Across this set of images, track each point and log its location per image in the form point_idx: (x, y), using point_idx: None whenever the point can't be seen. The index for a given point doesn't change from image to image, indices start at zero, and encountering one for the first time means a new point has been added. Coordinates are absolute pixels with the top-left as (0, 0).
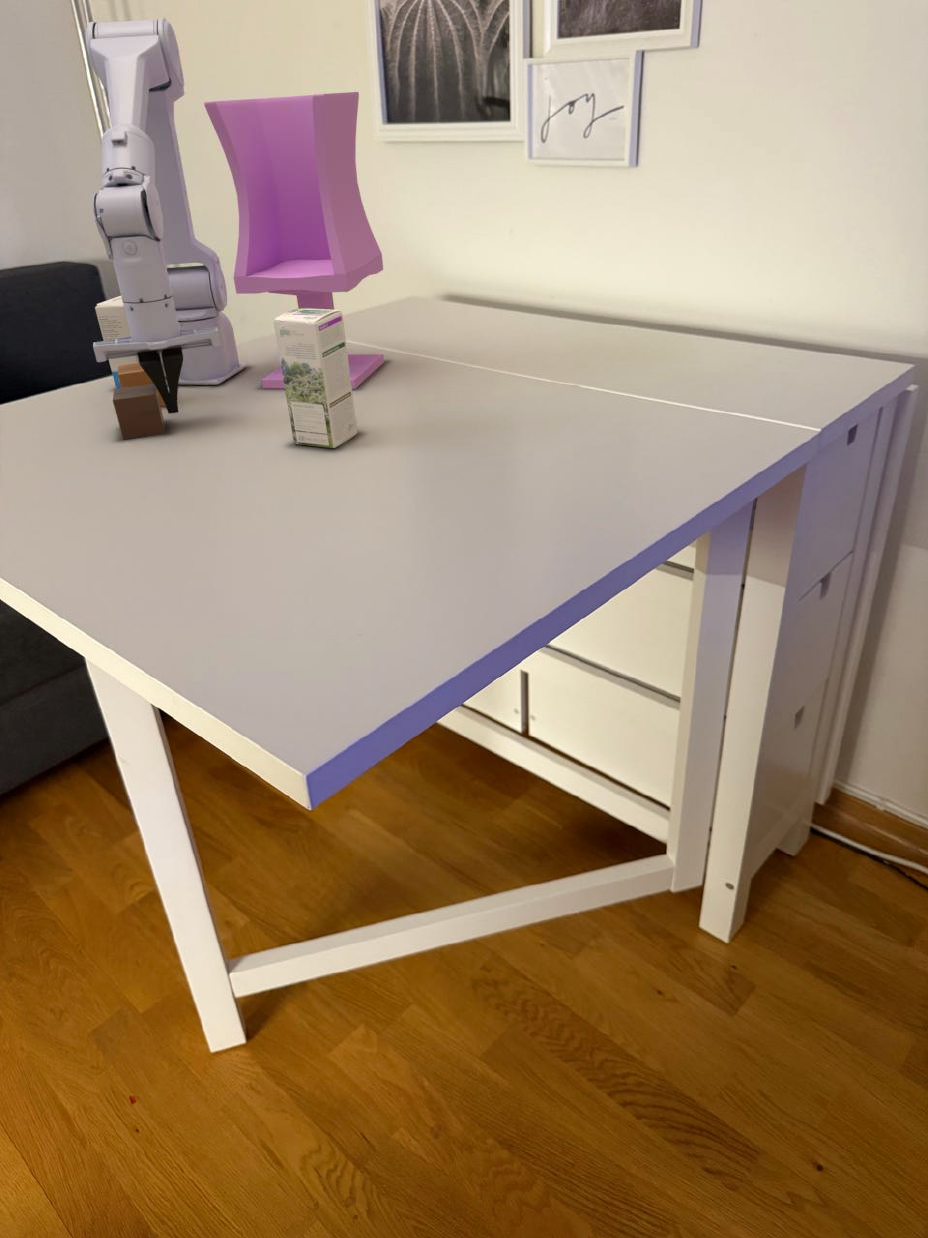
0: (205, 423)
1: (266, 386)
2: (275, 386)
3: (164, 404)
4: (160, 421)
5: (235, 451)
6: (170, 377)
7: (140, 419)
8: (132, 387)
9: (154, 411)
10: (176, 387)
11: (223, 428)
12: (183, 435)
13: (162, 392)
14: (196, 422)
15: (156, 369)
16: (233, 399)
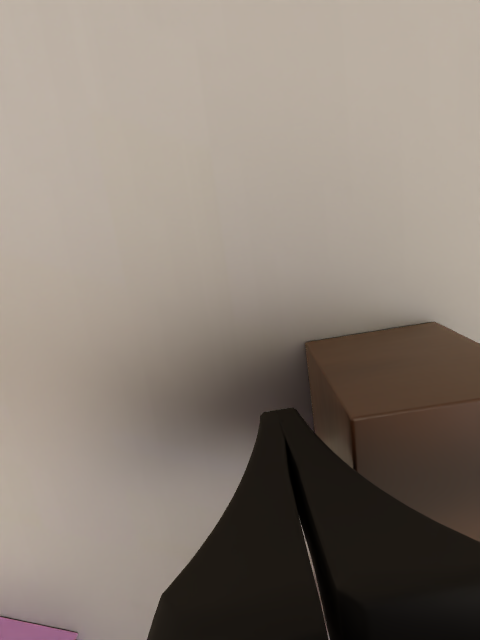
0: (187, 404)
1: (64, 636)
2: (38, 631)
3: None
4: (320, 356)
5: (5, 51)
6: (272, 507)
7: (395, 353)
8: None
9: (346, 374)
10: (250, 472)
11: (117, 340)
12: (241, 308)
13: (318, 450)
14: (217, 420)
15: (368, 544)
16: (142, 575)
